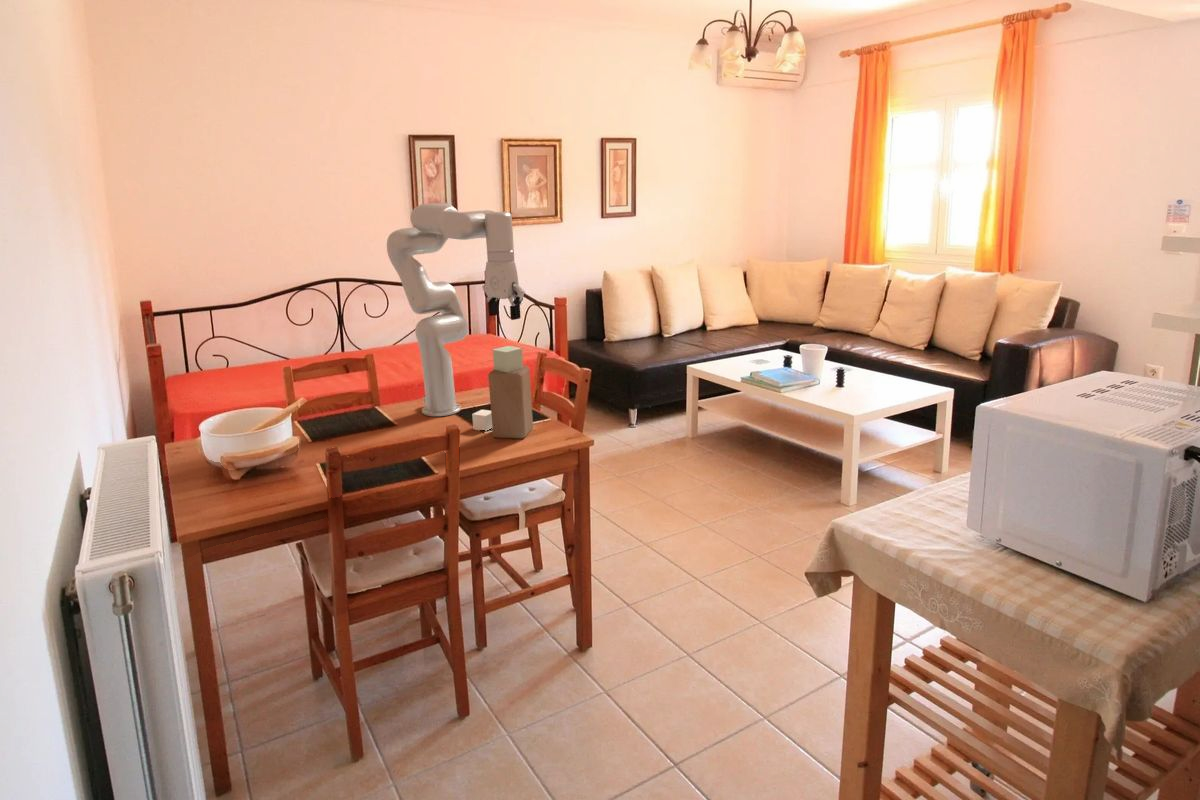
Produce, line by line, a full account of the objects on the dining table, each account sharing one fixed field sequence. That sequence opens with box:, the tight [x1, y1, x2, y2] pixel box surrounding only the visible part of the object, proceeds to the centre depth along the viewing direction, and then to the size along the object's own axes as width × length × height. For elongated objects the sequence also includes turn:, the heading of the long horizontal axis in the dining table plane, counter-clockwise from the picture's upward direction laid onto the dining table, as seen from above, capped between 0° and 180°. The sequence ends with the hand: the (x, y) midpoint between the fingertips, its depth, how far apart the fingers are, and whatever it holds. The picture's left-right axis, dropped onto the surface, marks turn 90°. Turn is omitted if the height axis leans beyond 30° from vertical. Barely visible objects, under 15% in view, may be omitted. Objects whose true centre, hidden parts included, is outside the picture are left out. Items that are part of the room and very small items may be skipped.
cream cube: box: [471, 409, 492, 432], centre depth 231 cm, size 5×5×5 cm
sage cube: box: [492, 345, 524, 373], centre depth 219 cm, size 6×6×6 cm
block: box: [487, 365, 534, 439], centre depth 223 cm, size 10×10×20 cm
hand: (504, 317), depth 217 cm, fingers open, 9 cm apart
